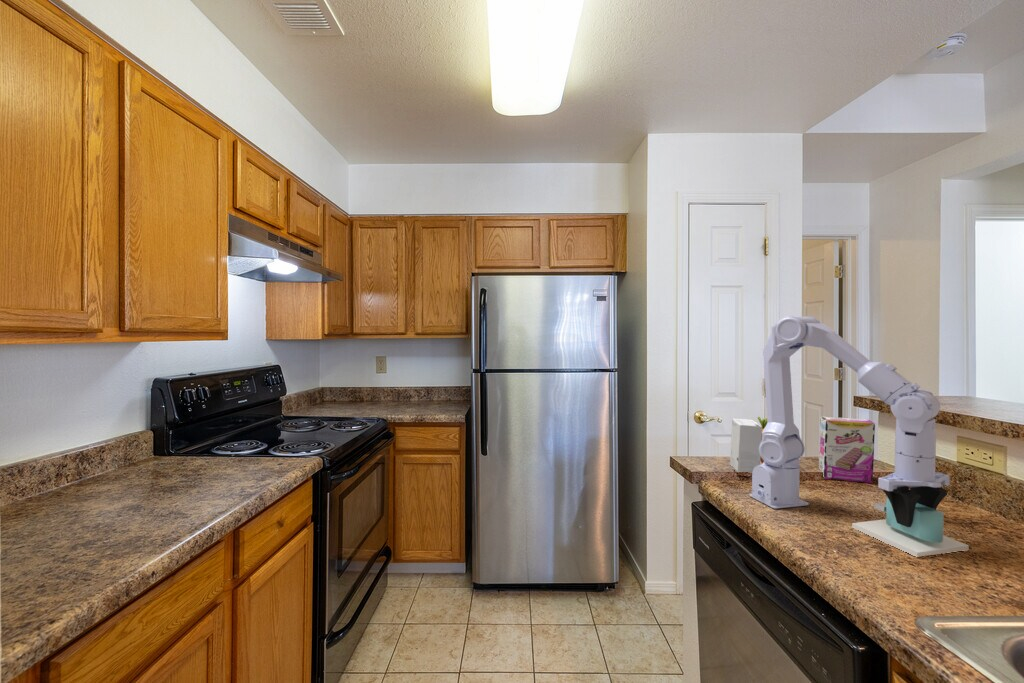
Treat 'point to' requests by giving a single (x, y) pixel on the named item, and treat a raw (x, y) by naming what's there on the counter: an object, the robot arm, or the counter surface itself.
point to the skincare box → (745, 444)
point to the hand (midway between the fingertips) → (913, 523)
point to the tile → (907, 539)
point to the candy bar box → (847, 449)
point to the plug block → (917, 521)
